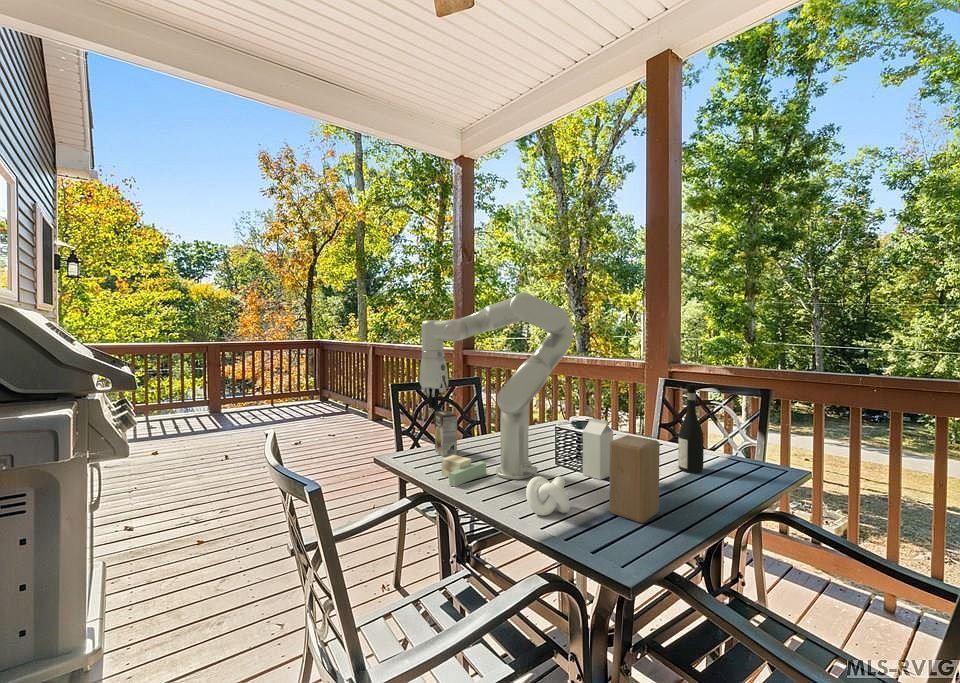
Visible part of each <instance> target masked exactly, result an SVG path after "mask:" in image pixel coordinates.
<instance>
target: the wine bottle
mask: <svg viewBox="0 0 960 683" xmlns="http://www.w3.org/2000/svg"><path fill="white" fill-rule="evenodd" d="M686 391H687V394H686V395H687V396H686V399H687V401H686V402H687V403H686V404H687V405H686V406H687V407H686V414H685V417H684V419H683V421H682V424H681V425H680V429H679V431H678V441H677V442H678V444H677V445H678V448H677V449H678V450H677V451H678V455H677V456H678V458H677V464H678V465H677V466H678V469H679V470H680V471H683V472H685V473H689V474H690V473H691V474H700V473H702V472H703V470H704V451H705V450H704V448H705V446H704V445H705V444H704V443H705V442H704V441H705V439H704V433H703V432H704V431H703V429H702V427H701V423H700V422H699V419H698V415H697V410H696V404H697V403H696V402H697V401H696V399H697V398H696V397H697V396H696V395H697V384H694V383H688V384H686Z"/></svg>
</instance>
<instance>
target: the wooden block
mask: <svg viewBox="0 0 960 683" xmlns="http://www.w3.org/2000/svg"><path fill="white" fill-rule="evenodd" d="M608 494H609V506H608V507H609V508H608V510H609V513H610V514H613V515H616V516H618V517H622V518H624V519H627V520H628V519H629V520H630V521H631V520H632V521H634V522H636V523H641V524H643V523H645V522H647V521H648V520H650V519H651V518H653V517H654V516H656V515H658V514H659V511H660V442H659V441H658V440H656V439H651V438H645V437H639V436H635V435H630V434H627V435H624V436H621V437H618V438H614V439H613V440H612V441H611V442H610V476H609V493H608Z"/></svg>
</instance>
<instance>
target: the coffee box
mask: <svg viewBox="0 0 960 683" xmlns="http://www.w3.org/2000/svg"><path fill="white" fill-rule="evenodd" d="M434 451H435V452H436V451H437V452H438V454H439V455H440V456H441V455H442V456H441V457H449V456H451V455H457V456H458V414H456V413H454V412H452V411H450V410H437V411H434ZM437 452H436V453H437Z"/></svg>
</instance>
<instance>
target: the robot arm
mask: <svg viewBox="0 0 960 683" xmlns="http://www.w3.org/2000/svg"><path fill="white" fill-rule="evenodd" d="M522 321H524V322H526V323H528V324H530V325H532V326H535V327H537V328H538V329H541V330H543V331H545V332H547V334H546V336H545V338H544V339H543V341H541V343H540V344H539V345H538V347H537V348H536V350H534V352H533V353H531V355H530V356H529V357H528V358H527V359H526V360H525V361H523V363H522V364H521V365H520V366H519V367H518V369H517V370H516V371H515V372H514V373H513V374H512V376H511V377H510V378H509V379H508V380H507V382H506V383H505V384H504V385H503V387H502V388H501V389H500V390H499V391H498V394H497V398H496V401H497V402H496V403H497V406H498V409H500V466H498V467H497V468H496V470H495V472H496V473H495V474H496V475H497V476H498V477H500V478H502V479H508V480H523V479H524V480H525V479H528V478H530V477H532V476H533V475H537V473H538V466H534V465H533V464H532V460H529V459H530V458H529V457H530V456H529V455H530V454H529V428H530V427H529V420H530V419H529V418H530V417H529V416H530V415H529V414H530V413H529V412H530V402H531V401H532V400H533V399H534V398H535V397H536V395H537V394H538V393H539V392H540V391H541V390H542V388H544V385H545V384H546V383H547V381H548V378H549V376H550V374H552V372H553V370H554V369H555V368H556V366H557V365H558V364H559V363H560V361H561V360H562V359H563V358H564V356H565V355H566V354H567V353H568V350H569V349H570V347H571V345H572V340H573V338H574V337H573V334H574V331H573V329H574V328H573V326H572V321H571V319H570V316H569V313H568V312H567V310H565V309H563V308H562V307H559V306H558V305H555V304H552V303H550V302H548V301H545V300H543V299H541V298H539V297H536V296H535V295H532V294H531V293H528V292H519V293H517V294H515V295H513V297H510V298H506V299H504V300H501V301H499V302H495V303H492V304H489V305H487V306H485V307H483V308H482V309H480V310H479V311H477V312H474V313H472V314H470V315H467V316H464V317H461V318H456V319H451V318H450V319H446V320H435V319H434V320H433V319H432V320H431V319H429V320H424V321H422V323H421V360H420V366H419V384H420V386H421V390H422V391H424V392H426V396H427V397H428V408H429V409H437V408H439V397H440V394H442V393H445V392H446V391H447V390H446V388H447V387H448V386H449V372H448V366H447V362H446V359H444V357H445V356H446V353H445V352H444V342H445V341H447V342H458V341H462V340H465V339H469V338H471V337H474V336H477V335H481V334H483V333H486V332H490V331H491V332H492V331H495V330H497V329H500V328H504V327H507V326H509V325H513V324H515V323H520V322H522Z"/></svg>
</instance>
